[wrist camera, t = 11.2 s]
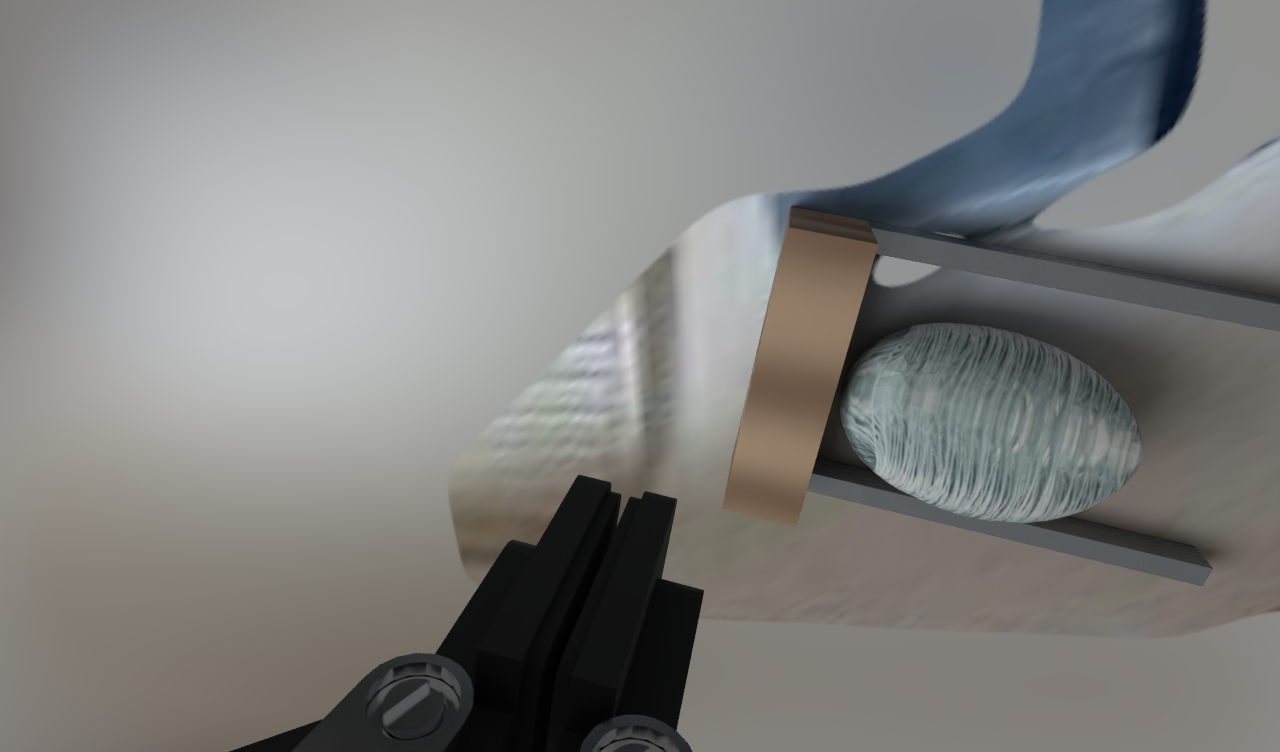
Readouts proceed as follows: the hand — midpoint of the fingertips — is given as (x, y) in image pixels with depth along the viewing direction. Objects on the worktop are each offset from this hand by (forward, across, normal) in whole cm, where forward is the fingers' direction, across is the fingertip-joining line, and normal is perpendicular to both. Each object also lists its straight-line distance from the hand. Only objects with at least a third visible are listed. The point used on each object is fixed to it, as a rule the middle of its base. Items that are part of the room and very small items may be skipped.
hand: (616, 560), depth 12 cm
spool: (+29, -13, +6) cm, 33 cm away
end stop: (+29, -4, +6) cm, 30 cm away
